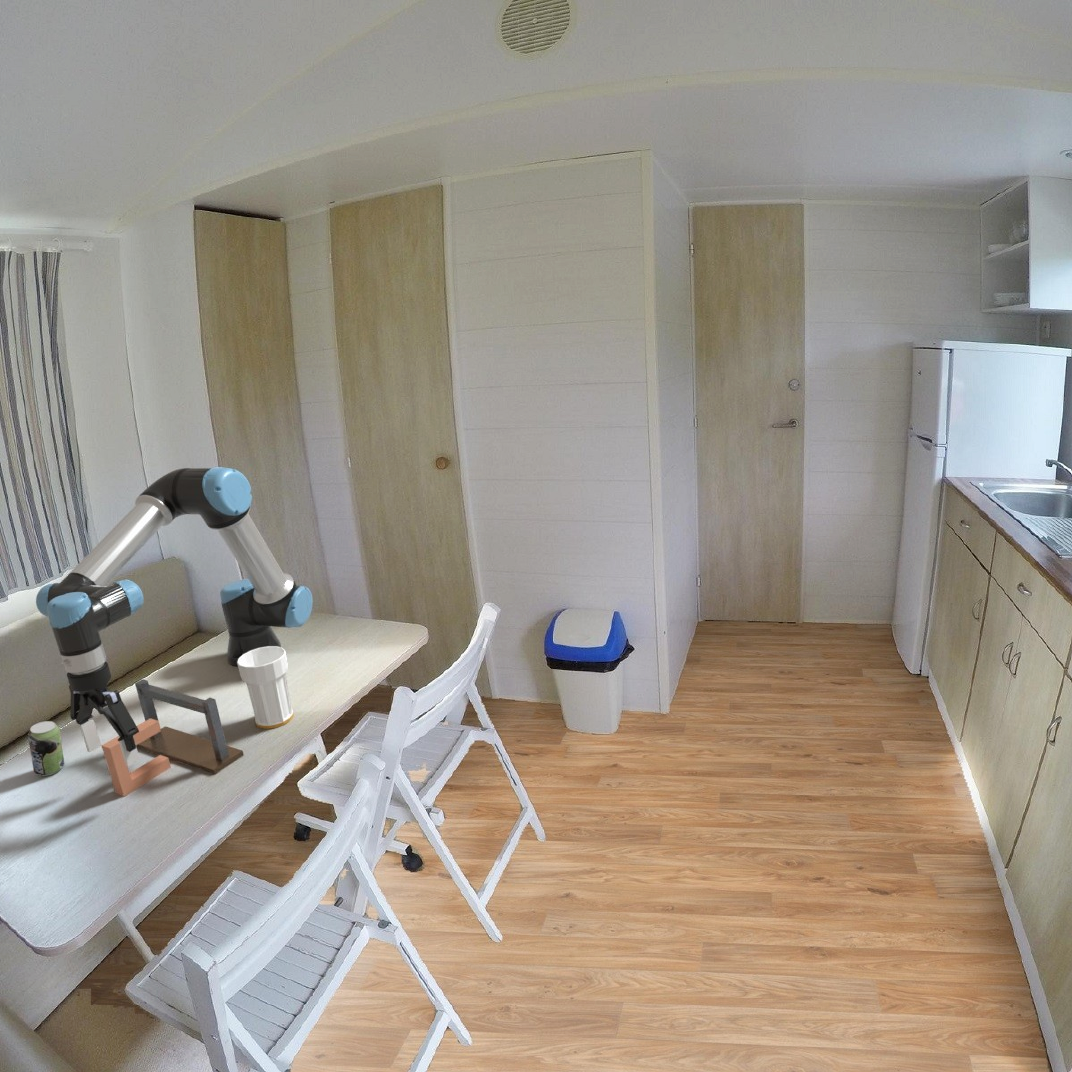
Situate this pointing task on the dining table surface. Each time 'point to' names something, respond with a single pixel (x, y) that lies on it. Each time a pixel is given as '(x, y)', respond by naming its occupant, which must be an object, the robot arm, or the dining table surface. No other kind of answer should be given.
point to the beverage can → (46, 748)
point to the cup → (267, 685)
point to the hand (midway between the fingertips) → (113, 755)
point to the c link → (120, 772)
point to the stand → (182, 744)
